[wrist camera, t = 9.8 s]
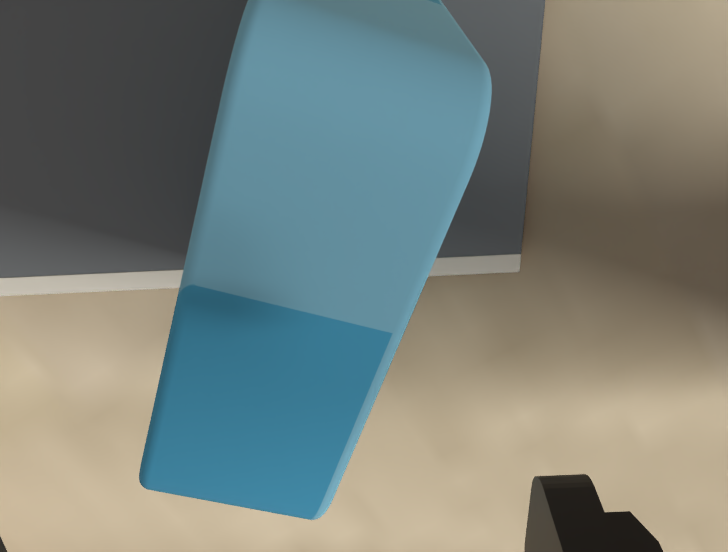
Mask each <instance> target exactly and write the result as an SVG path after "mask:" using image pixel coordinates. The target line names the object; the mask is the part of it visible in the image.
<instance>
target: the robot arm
mask: <svg viewBox="0 0 728 552" xmlns="http://www.w3.org/2000/svg"><path fill="white" fill-rule="evenodd" d="M0 552H7V550H6V548H5V546H4V544H3V542H2V539H1V537H0ZM525 552H663V550H662V548H661V546H660V544H659V542H658V541H657V540H656V539H655V538H654V536H653V535H652V534H651V533H650V532H649V531H648V530H647V529H646V528H645V527H644V526H643V525H642V524H641V523H640V522H639V521H638V520H637V519H636V518H635V517H634V515H633V514H632V513H631V512H630V511H628V512H604V510H603V507H602V505H601V502H600V500H599V497H598V495H597V492H596V490H595V487H594V485H593V483H592V481H591V479H590V478H589V476H588V475H586V474H580V475H557V476H535V477H534V479H533V482H532V488H531V496H530V504H529V513H528V521H527V529H526V538H525Z"/></svg>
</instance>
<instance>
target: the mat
mask: <svg viewBox="0 0 728 552" xmlns="http://www.w3.org/2000/svg"><path fill="white" fill-rule="evenodd" d="M441 1H442V3H443V4H444V5H445V7H446V8H447V10H448V11H449V12H450V14H451V15H452V17H453V18H454V20H455V21H456V22H457V24H458V25H459V27H460V28H461V29H462V31H463V32H464V34H465V35H466V36H467V38H468V39H469V41H470V42H471V43H472V45H473V46H474V48H475V49H476V50H477V52H478V53H479V55H480V56H481V57H482V59H483V60H484V62H485V63H486V65H487V67H488V69H489V72H490V76H491V84H492V95H491V106H490V113H489V118H488V124H487V128H486V132H485V136H484V140H483V143H482V147H481V150H480V153H479V156H478V159H477V162H476V165H475V167H474V170H473V172H472V175H471V177H470V180H469V182H468V184H467V187H466V189H465V191H464V194H463V196H462V198H461V201H460V203H459V205H458V208H457V210H456V212H455V215H454V217H453V219H452V222H451V224H450V226H449V229H448V231H447V233H446V236H445V238H444V240H443V243H442V245H441V247H440V250H439V252H438V254H437V257H436V259H435V261H434V264H433V266H432V268H431V271H430V273H429V275H428V276H446V275H467V274H489V273H510V272H520V262H521V248H522V238H523V227H524V217H525V206H526V196H527V185H528V175H529V164H530V154H531V144H532V133H533V123H534V112H535V102H536V91H537V81H538V70H539V60H540V49H541V39H542V28H543V18H544V7H545V0H441ZM247 2H248V0H0V296H15V295H36V294H58V293H79V292H101V291H122V290H144V289H166V288H180V283H181V279H182V274H183V270H184V265H185V260H186V256H187V251H188V247H189V242H190V237H191V233H192V228H193V224H194V219H195V215H196V210H197V205H198V201H199V196H200V192H201V187H202V182H203V178H204V173H205V169H206V164H207V159H208V155H209V150H210V146H211V141H212V137H213V132H214V127H215V123H216V118H217V114H218V109H219V104H220V100H221V95H222V91H223V87H224V82H225V78H226V74H227V70H228V66H229V62H230V58H231V54H232V50H233V47H234V43H235V39H236V36H237V32H238V29H239V25H240V22H241V19H242V16H243V13H244V10H245V7H246V4H247Z"/></svg>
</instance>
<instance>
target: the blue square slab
mask: <svg viewBox="0 0 728 552" xmlns="http://www.w3.org/2000/svg"><path fill="white" fill-rule="evenodd" d="M491 95H492V84H491V76H490V72H489V69H488V67H487V65H486V63H485V62H484V60H483V59H482V57H481V56H480V55H479V53H478V52H477V50H476V49H475V48H474V46H473V45H472V43H471V42H470V41H469V39H468V38H467V36H466V35H465V34H464V32H463V31H462V29H461V28H460V27H459V25H458V24H457V22H456V21H455V20H454V18H453V17H452V15H451V14H450V12H449V11H448V10H447V8H446V7H445V5H444V4H443V3H442V1H441V0H248V2H247V4H246V7H245V10H244V13H243V16H242V19H241V22H240V25H239V29H238V32H237V36H236V39H235V43H234V47H233V50H232V54H231V58H230V62H229V66H228V70H227V74H226V78H225V82H224V87H223V91H222V95H221V100H220V104H219V109H218V114H217V118H216V123H215V127H214V132H213V137H212V141H211V146H210V150H209V155H208V159H207V164H206V169H205V173H204V178H203V182H202V187H201V192H200V196H199V201H198V205H197V210H196V215H195V219H194V224H193V228H192V233H191V237H190V242H189V247H188V251H187V256H186V260H185V265H184V270H183V274H182V279H181V283H180V288H179V292H178V297H177V302H176V306H175V311H174V315H173V320H172V325H171V329H170V334H169V338H168V343H167V348H166V352H165V357H164V361H163V366H162V370H161V375H160V380H159V384H158V389H157V393H156V398H155V403H154V407H153V412H152V416H151V421H150V425H149V430H148V435H147V439H146V444H145V448H144V453H143V458H142V462H141V467H140V473H139V480H140V483H141V485H142V486H143V487H144V488H146V489H149V490H154V491H159V492H165V493H170V494H175V495H181V496H186V497H192V498H197V499H202V500H208V501H213V502H218V503H224V504H229V505H234V506H240V507H245V508H251V509H256V510H261V511H267V512H272V513H277V514H283V515H288V516H294V517H299V518H304V519H310V520H315V519H318V518H320V517H321V516H322V515H323V514H324V513H325V512H326V511H327V509H328V508H329V506H330V504H331V502H332V500H333V497H334V495H335V493H336V490H337V488H338V486H339V483H340V481H341V479H342V476H343V474H344V472H345V469H346V467H347V465H348V462H349V460H350V458H351V455H352V453H353V451H354V448H355V446H356V444H357V441H358V439H359V437H360V434H361V432H362V430H363V427H364V425H365V423H366V420H367V418H368V416H369V413H370V411H371V409H372V406H373V404H374V402H375V399H376V397H377V395H378V392H379V390H380V388H381V385H382V383H383V381H384V378H385V376H386V374H387V371H388V369H389V366H390V364H391V362H392V359H393V357H394V355H395V352H396V350H397V348H398V345H399V343H400V341H401V338H402V336H403V334H404V331H405V329H406V327H407V324H408V322H409V320H410V317H411V315H412V313H413V310H414V308H415V306H416V303H417V301H418V299H419V296H420V294H421V292H422V289H423V287H424V285H425V282H426V280H427V278H428V275H429V273H430V271H431V268H432V266H433V264H434V261H435V259H436V257H437V254H438V252H439V250H440V247H441V245H442V243H443V240H444V238H445V236H446V233H447V231H448V229H449V226H450V224H451V222H452V219H453V217H454V215H455V212H456V210H457V208H458V205H459V203H460V201H461V198H462V196H463V194H464V191H465V189H466V187H467V184H468V182H469V180H470V177H471V175H472V172H473V170H474V167H475V165H476V162H477V159H478V156H479V153H480V150H481V147H482V143H483V140H484V136H485V132H486V128H487V124H488V118H489V113H490V106H491Z"/></svg>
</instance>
